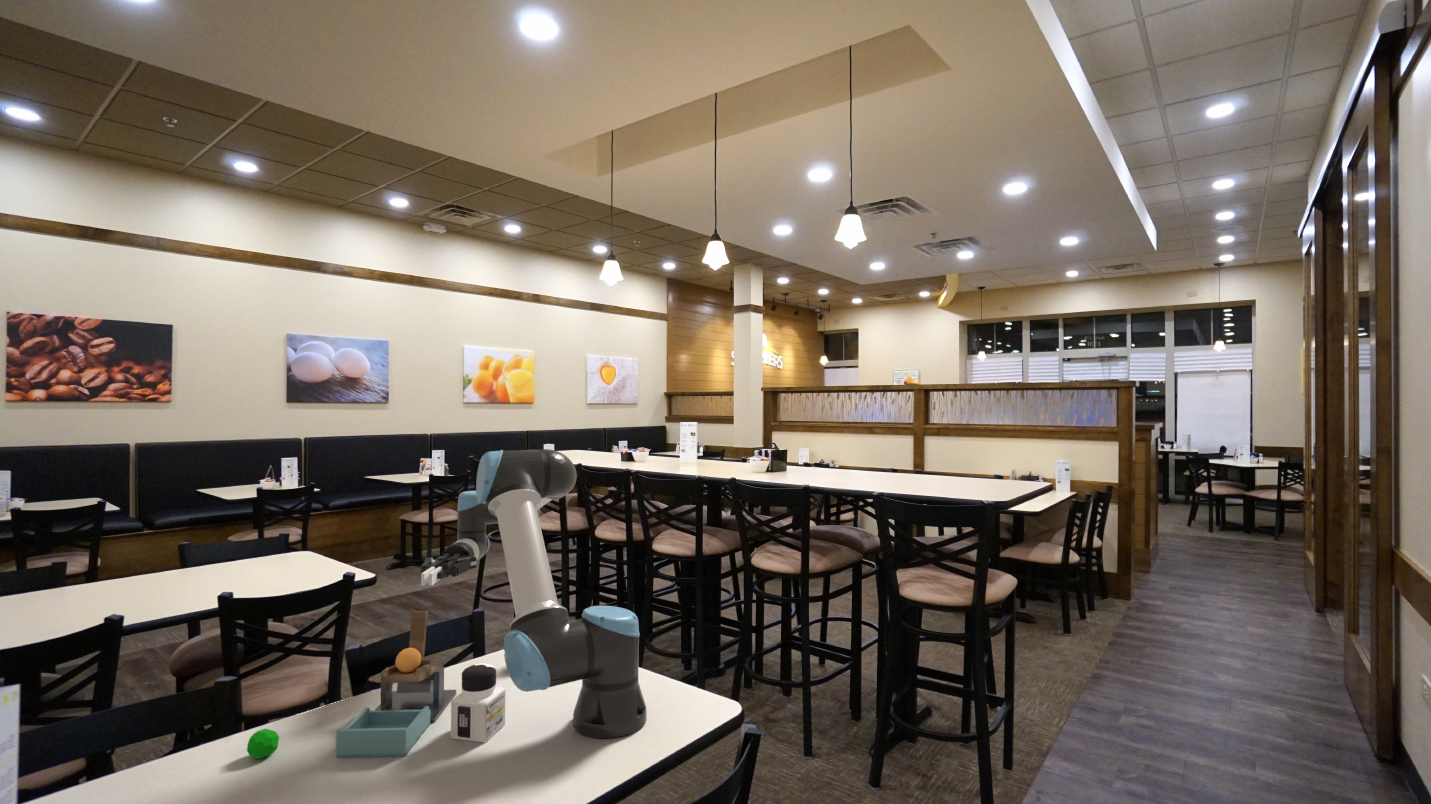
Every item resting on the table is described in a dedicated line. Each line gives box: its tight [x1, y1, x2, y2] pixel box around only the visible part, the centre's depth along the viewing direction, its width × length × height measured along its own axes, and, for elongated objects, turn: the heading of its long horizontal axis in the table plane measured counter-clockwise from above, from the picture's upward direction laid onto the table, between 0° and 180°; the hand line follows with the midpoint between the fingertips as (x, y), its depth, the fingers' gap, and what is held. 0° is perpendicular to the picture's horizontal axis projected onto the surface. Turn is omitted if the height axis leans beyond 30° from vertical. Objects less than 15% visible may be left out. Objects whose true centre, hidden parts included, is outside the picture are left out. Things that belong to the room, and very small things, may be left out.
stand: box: [374, 665, 457, 724], centre depth 143 cm, size 14×14×8 cm
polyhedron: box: [246, 728, 280, 760], centre depth 123 cm, size 5×5×5 cm
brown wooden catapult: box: [382, 610, 439, 693], centre depth 143 cm, size 12×9×17 cm
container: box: [450, 662, 506, 743], centre depth 133 cm, size 8×8×13 cm
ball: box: [395, 647, 421, 673], centre depth 140 cm, size 5×5×5 cm
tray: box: [335, 706, 431, 759], centre depth 129 cm, size 13×13×5 cm
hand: (426, 579), depth 150 cm, fingers closed
